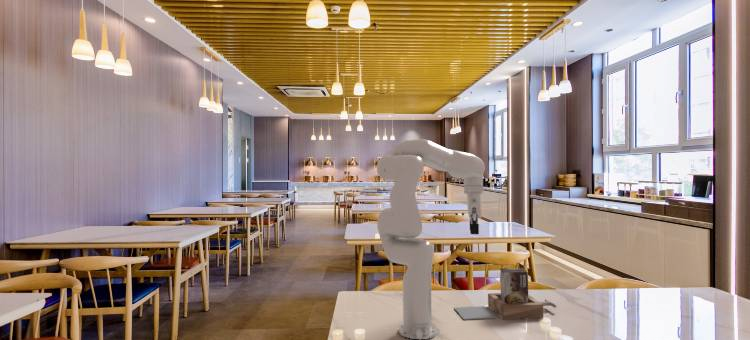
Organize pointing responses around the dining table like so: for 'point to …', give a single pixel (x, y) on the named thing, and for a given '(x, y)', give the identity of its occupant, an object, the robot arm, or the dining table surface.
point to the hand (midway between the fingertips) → (474, 232)
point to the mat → (474, 313)
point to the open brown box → (517, 307)
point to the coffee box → (514, 285)
